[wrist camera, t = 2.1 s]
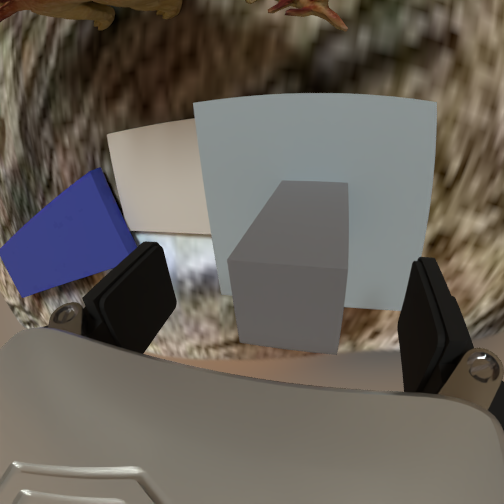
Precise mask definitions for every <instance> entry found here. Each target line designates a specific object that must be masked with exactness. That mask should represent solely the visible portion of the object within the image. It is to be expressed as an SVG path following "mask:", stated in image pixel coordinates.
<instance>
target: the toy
mask: <svg viewBox="0 0 504 504" xmlns="http://www.w3.org/2000/svg"><path fill="white" fill-rule="evenodd" d="M89 1H94V2H97V3H93V2H89ZM245 1H246V2H247V3H249V4H253V3H254V2H256V1H257V0H245ZM276 1H279V2H278V4H276V5H275V6H273V7H271V8H270V9H268V13H275V12H277V11H279V10H281V9H284V8H286V7H288V6H293V7H296V8H299V9H289V10H287V11H286V13H285V15H291V16H301V17H305V16H309V15H315V16H318V17H320V18H323V19H325V20H327V21H328V22H329V23H330V24H332V25H333V26H334V27H336V28H337V29H340V30H343V31H345V32H346V31H347V30H348V28H347V27H346V25H345V24H344V22H343V21H342V20H341V18H340V17H339V16H338V14H337V13H335V12H334V11H332V10H331V9H330V8H329V6H328V0H276ZM99 3H100V4H99ZM103 4H105V5H103ZM106 5H112V6H116V7H130V8H132V9H134V10H140V11H154V10H157V13H156V15H163V19H170V18H173V17H175V16H176V15H178V14H179V12H180V9H181V6H182V0H0V22H1V21H2V20H4V19H6V18H8V17H9V16H11V15H13V14H14V13H16V12H17V11H22V10H31V11H32V12H34V13H37V14H40V15H45V16H50V17H57V18H64V19H73V20H85V19H87V20H95V21H94V27H98V30H104V29H107V28H108V27H109V26H110V25H111V24H112V22H113V21H114V17H115V10H114V9H113V8H112V7H110V6H106Z"/></svg>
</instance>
